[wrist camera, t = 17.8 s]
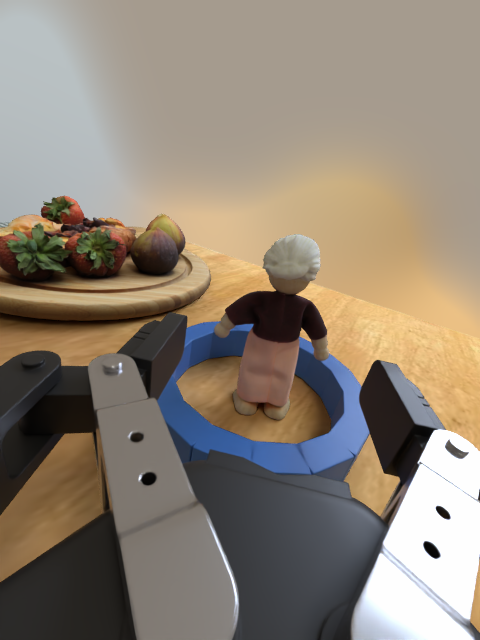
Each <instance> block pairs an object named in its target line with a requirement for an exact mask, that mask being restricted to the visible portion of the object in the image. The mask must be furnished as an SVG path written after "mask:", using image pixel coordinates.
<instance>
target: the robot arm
mask: <svg viewBox="0 0 480 640" xmlns="http://www.w3.org/2000/svg"><path fill="white" fill-rule="evenodd" d="M186 328H187V316H185V315H180V314H176V313H172V312H169V313H168V314H167V315H166V316H165V317H164V319H163V320H162V321H161V322H160V321H156V320H154V321H152V322H149V323H147V324H145V325H144V326H143V327H142V328H141V329H140V330H139V331H138V332H137V333H136V334H135V335H134V336H133V337H132V338H131V339H130V340H129V341H128V342H127V343H126V344H125V345H124V346H123V347H122V348H121V349H120V350H119V351H118V352H117V353H116V354H115V353H113V354H105V355H102V356H99V357H97V358H95V359H94V360H92V361H91V362H90V364H89V366H61V359H60V357H59V356H58V355H57V354H56V353H53V352H50V351H31V352H26V353H22V354H20V355H17V356H15V357H13V358H12V359H10V360H9V361H7V362H6V363H4V364H3V365H2V366H0V515H1V514H2V513H3V511H4V510H5V509H6V507H7V506H8V505H9V504H10V502H11V501H12V500H13V499H14V497H15V496H16V495H17V493H18V492H19V491H20V490H21V488H22V487H23V486H24V485H25V483H26V482H27V481H28V479H29V478H30V477H31V476H32V474H33V473H34V472H35V471H36V469H37V468H38V467H39V465H40V464H41V463H42V462H43V460H44V459H45V458H46V457H47V455H48V454H49V453H50V451H51V450H52V449H53V448H54V446H55V445H56V444H57V443H58V441H59V440H60V439H61V437H62V436H63V435H64V434H66V433H92V437H93V444H94V451H95V458H96V466H97V473H98V480H99V490H100V500H101V509H102V514H101V515H100V516H98V517H97V518H95V519H94V520H92V521H91V522H89V523H88V524H86V525H85V526H83V527H82V528H80V529H79V530H77V531H76V532H74V533H73V534H71V535H70V536H68V537H67V538H65V539H64V540H62V541H61V542H59V543H58V544H57V545H55V546H54V547H52V548H51V549H49V550H48V551H46V552H45V553H43V554H42V555H40V556H39V557H37V558H36V559H34V560H33V561H31V562H30V563H28V564H27V565H25V566H24V567H22V568H21V569H19V570H18V571H16V572H15V573H13V574H12V575H11V576H9V577H8V578H6V579H5V580H3V581H2V582H0V640H480V633H479V632H478V631H477V629H476V628H475V627H474V626H473V625H472V623H471V622H470V615H471V608H472V602H473V595H474V589H475V582H476V576H477V569H478V563H479V559H480V452H479V451H478V450H477V449H476V448H475V447H474V446H473V445H472V444H471V443H470V442H468V441H467V440H465V439H464V438H462V437H461V436H459V435H457V434H455V433H452V432H450V431H446V429H445V428H444V426H443V425H442V423H441V422H440V420H439V419H438V417H437V416H436V414H435V413H434V411H433V410H432V408H431V407H429V406H430V405H429V404H428V402H427V401H426V399H424V396H423V395H422V393H421V392H420V390H419V389H418V388H417V387H416V386H415V385H414V384H413V383H412V382H411V381H409V380H408V379H406V378H405V376H404V374H403V373H402V371H401V370H400V368H399V367H398V365H397V364H393V363H389V362H385V361H380V360H376V361H375V362H374V363H373V364H372V366H371V368H370V371H369V373H368V375H367V377H366V379H365V381H364V383H363V385H362V387H361V390H360V394H359V404H360V407H361V409H362V412H363V415H364V418H365V421H366V424H367V426H368V429H369V432H370V435H371V438H372V440H373V443H374V446H375V449H376V452H377V455H378V457H379V460H380V463H381V466H382V469H383V472H384V473H385V474H390V475H394V476H398V477H399V478H400V482H399V483H398V485H397V486H396V488H395V490H394V492H393V494H392V496H391V497H390V499H389V501H388V503H387V505H386V507H385V509H384V511H383V513H382V514H381V516H378V515H377V514H376V513H375V512H374V511H373V510H371V509H370V508H369V507H367V506H366V505H365V504H363V503H361V502H360V501H358V500H357V499H355V498H353V497H351V493H350V489H349V484H348V483H346V482H342V481H338V480H334V479H330V478H326V477H321V476H317V475H281V474H276V473H274V472H272V471H270V470H268V469H266V468H264V467H262V466H260V465H258V464H256V463H254V462H252V461H250V460H248V459H246V458H244V457H240V456H236V455H232V454H228V453H224V452H220V451H216V450H212V449H210V450H209V453H208V457H207V460H197V461H190V462H186V463H182V462H181V460H180V457H179V455H178V452H177V450H176V447H175V445H174V442H173V440H172V437H171V435H170V432H169V430H168V427H167V425H166V422H165V420H164V417H163V415H162V412H161V410H160V407H159V405H158V402H157V400H158V399H159V397H160V395H161V394H162V392H163V390H164V388H165V387H166V385H167V383H168V381H169V380H170V378H171V376H172V375H173V373H174V371H175V369H176V368H177V366H178V364H179V362H180V361H181V358H182V355H183V352H184V346H185V337H186Z"/></svg>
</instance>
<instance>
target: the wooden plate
mask: <svg viewBox="0 0 480 640" xmlns="http://www.w3.org/2000/svg"><path fill="white" fill-rule="evenodd" d="M44 205H46V206H43V208H42V209H41V215H42V217H43V218H42V217H40V216H38V215H24V216H21V217H18V218H16V219H14V220H12V222H11V223H9V224H8V227H4V228H0V312H1V313H6V314H12V315H18V316H24V317H32V318H41V319H53V320H82V321H89V320H112V319H125V318H134V317H142V316H149V315H154V314H159V313H163V312H167V311H170V310H173V309H176V308H179V307H182V306H184V305H186V304H188V303H190V302H192V301H194V300H196V299H198V298H199V297H200V296H202V295H203V294H204V292H205V291H206V290H207V289H208V287H209V285H210V281H211V274H210V270H209V268H208V266H207V265H206V263H205V262H204V261H203V260H202V259H201V258H199V257H198V256H197V255H195V254H193V253H192V252H190V251H188V250H186V249H184V247H185V237H184V235H183V233H182V231H181V229H180V228H179V226H178V225H177V224H176V223H175V222H174V221H173V220H172V219H170V218H169V217H168V216H166V215H163V214H160V215H158V216H157V217H156V218H155V219H154V220H153V221H151V222H150V224H149V225H148V227H147V229H146V232H144V233H143V234H141V235H136V234H135V233H136V230H134V229H133V228H127V227H125V226H124V225H123V223H122V222H120V221H119V220H117V219H113V218H107V219H106V220H105V219H104V218H99V219H97V218H93V220H94V221H90V220H88V219H87V218H85V217H84V214H83V212H82V210H81V209H80V206H79V205H78V203H77V202H76V201H75V200H74V199H71V198H70V197H67V196H60V197H57V198H53V199H52V203H47V202H45V203H44Z"/></svg>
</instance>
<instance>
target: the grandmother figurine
mask: <svg viewBox="0 0 480 640" xmlns="http://www.w3.org/2000/svg"><path fill="white" fill-rule="evenodd" d="M263 261H264V266H263V269H266V272H267V274H268V275H269V280H270V283H271V284H272V286H273V287H274V288H275V289H276V291H274V292H271V291H256V292H251V293H249V294H246V295H244V296H243V297H241V298H239V299H238V300H237V301H235V302H234V303H233V304H231V305H230V306H229V307H227V308H226V309H225V312H226V313H225V314H224V316H223V317H222V318H221V322H220V323H218V324H217V325H216V326H215V328H214V332H215V334H216V335H217V336H218V337H220V338H225V337H227V336H228V335H229V333H230V330H231V329H233V328H234V327H235V326H236V325H243V324H254V325H253V327H252V328H251V330H250V332H249V334H248V336H247V340H246V344H245V348H244V352H243V356H242V360H241V364H240V370H239V377H238V384H237V389H236V390H235V391H234V392H233V400H234V405H235V409H236V410H237V411H238V412H239V413H241V414H244V415H252V414H254V413H255V412H256V410H257V404H258V402H264V412H265V414H266V415H267V416H268V417H270V418H273V419H276V420H280V419H283V418H284V417H285V415H286V413H287V411H288V409H289V407H290V401H289V398H288V397H289V393H290V390H291V386H292V382H293V378H294V373H295V368H296V364H297V358H298V352H299V344H300V342H299V335H300V331H301V328H303V329H304V330H305V332H306V333H307V334H308V336H309V338H310V339H311V342H312V346H313V348H314V352H313V353H314V357H315V358H316V359H317V360H319V361H324V360H326V359H328V357H329V350H328V348H327V345H328V341H327V329H326V327H325V325H324V322H323V320H322V317H321V315H320V313H319V311H318V309H317V308H316V306H315V305H314V304H313V303H312V302H311V301H309V300H307V299H305V298H303V297H301V296H297V295H296V294H297V293H299V292H301V291H302V290H304V289H305V288H306V287H307V285H308V284H309V282H310V281H312V280H315V277H316V274H317V272H318V271H319V269H320V252H319V248H318V245H317V244H316V243H315V241H314V240H312V239H310V238H308V237H305V236H303V235H300V234H298V235H296V234H295V235H291V236H286V237H285V238H281V239H279V240H278V241H276V242H275V243H274V245H273V246H272V247H271V248H270V249H269V250H268V251H267V252H266V254H265V256H264V259H263Z"/></svg>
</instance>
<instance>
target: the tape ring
mask: <svg viewBox="0 0 480 640" xmlns="http://www.w3.org/2000/svg"><path fill="white" fill-rule="evenodd" d="M220 322H221V321H219V322H205V323H203V324H202V323H200V324H197V325H194V326H191V327H188V328H186V337H185V346H184V352H183V355H182V358H181V361H180V362H179V364H178V366H177V368H176V369H175V371H174V373H173V375H172V376H171V378H170V380H169V381H168V383H167V385H166V387H165V388H164V390H163V392H162V394H161V395H160V397H159V399H158V400H157V402H158V405H159V407H160V410H161V412H162V415H163V417H164V420H165V422H166V425H167V427H168V430H169V432H170V435H171V437H172V440H173V442H174V445H175V447H176V450H177V452H178V455H179V457H180V460H181V462H182V463H186V462H190V461H197V460H207V457H208V453H209V450H210V449H212V450H216V451H220V452H224V453H228V454H232V455H236V456H240V457H244V458H246V459H248V460H250V461H252V462H254V463H256V464H258V465H260V466H262V467H264V468H266V469H268V470H270V471H272V472H274V473H276V474H281V475H317V476H321V477H326V478H330V479H334V480H338V481H342V482H343V481H344V479H345V477H346V475H347V474H348V472H349V470H350V469H351V467H352V465H353V463H354V462H355V460H356V458H357V456H358V454H359V453H360V451H361V449H362V447H363V445H364V443H365V441H366V440H367V438H368V436H369V434H370V432H369V429H368V426H367V424H366V421H365V418H364V415H363V412H362V409H361V407H360V404H359V394H360V390H361V385H360V384H359V382H358V381H357V379H356V378H355V377H354V375H353V374H352V372H351V371H349V369H348V368H347V367H346V366H344V365H343V364H342V363H341V362H339V361H338V360H337V359H336V358H335V357H333V356H332V355H331V354H330V353H329V357H328V359H326V360H324V361H319V360H317V359H316V358H315V357H314V353H313V352H314V348H313V346H312V343H311V342H309V341H307V340H305V339H303V338H301V337H299V342H300V344H299V352H298V358H297V364H296V368H295V373H294V374H295V375H297V376H298V377H300V378H302V379H303V380H304V381H305V382H306V383H307V384H308V385H309V386H310V387H311V388H312V389H313V390H314V391H315V392H316V393H317V394H318V395H319V396H320V397H321V399H322V401H323V403H324V405H325V407H326V410H327V412H328V414H329V416H330V418H331V430H330V432H329V433H327V434H324V435H322V436H319V437H316V438H313V439H310V440H307V441H304V442H301V443H298V444H290V443H274V442H258V441H252V440H250V439H247V438H245V437H242V436H239V435H237V434H234V433H232V432H229V431H227V430H224V429H222V428H219V427H217V426H214V425H212V424H211V423H210V422H208V421H207V420H206V419H205V418H204V417H203V416H201V415H200V414H199V413H198V412H197V411H196V410H194V409H193V408H192V407H191V406H190V405H189V404H187V403H186V402H185V401H184V400H183V397H182V395H181V393H180V391H179V388H178V386H177V384H176V382H177V380H178V379H179V378H180V377H181V376H182V375H183V374H184V372H185V371H186V370H187V369H188V368H189V367H191V366H194V365H196V364H198V363H200V362H202V361H204V360H207V359H210V358H217V357H225V356H232V355H233V356H243V352H244V348H245V344H246V340H247V336H248V334H249V332H250V330H251V328H252V327H253V325H254V324H243V325H236V326H235V327H234V328H233V329H231V330H230V333H229V335H228V336H227V337H225V338H220V337H218V336H217V335H216V334H215V332H214V328H215V326H216V325H217V324H218V323H220Z"/></svg>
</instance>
